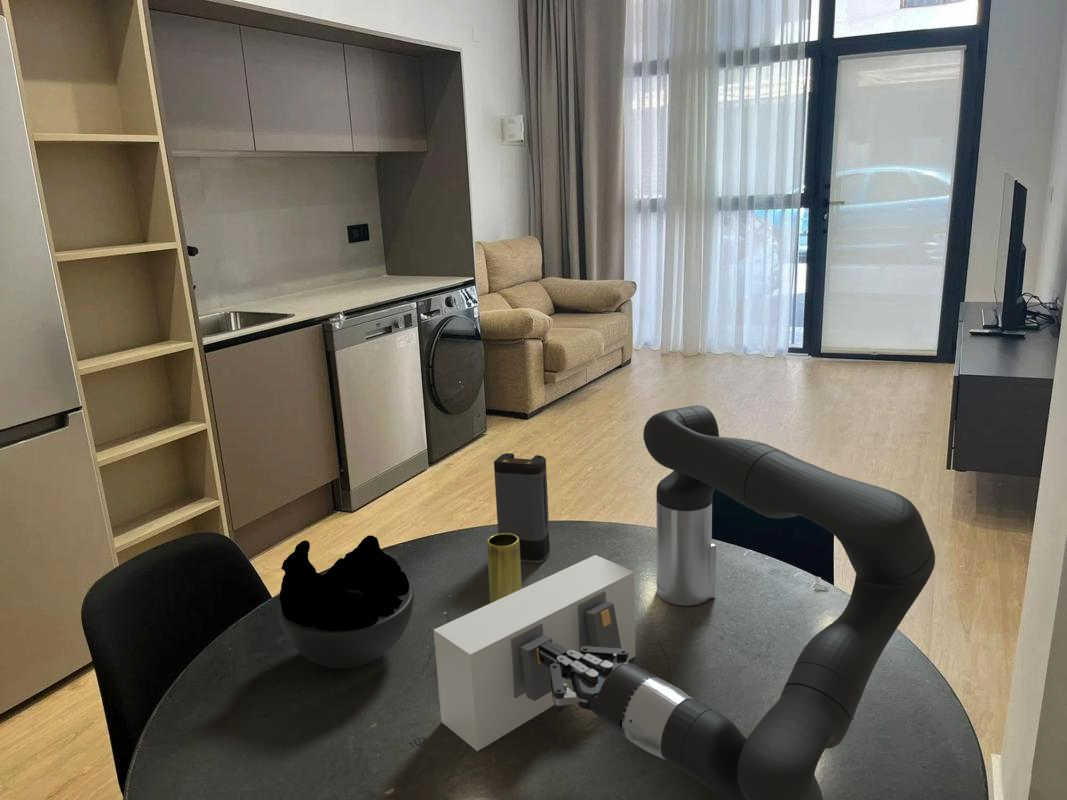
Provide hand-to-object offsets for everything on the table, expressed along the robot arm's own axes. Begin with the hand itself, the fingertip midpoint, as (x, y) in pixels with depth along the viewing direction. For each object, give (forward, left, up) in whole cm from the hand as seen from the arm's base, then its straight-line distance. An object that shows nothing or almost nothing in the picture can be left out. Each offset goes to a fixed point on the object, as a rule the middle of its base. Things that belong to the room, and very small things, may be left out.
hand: (542, 649), depth 101 cm
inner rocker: (-10, -6, -6) cm, 14 cm away
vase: (0, -29, -12) cm, 32 cm away
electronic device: (-7, -51, -12) cm, 53 cm away
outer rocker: (0, 0, -6) cm, 6 cm away
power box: (-2, -9, -12) cm, 15 cm away
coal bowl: (+25, -24, -12) cm, 37 cm away
